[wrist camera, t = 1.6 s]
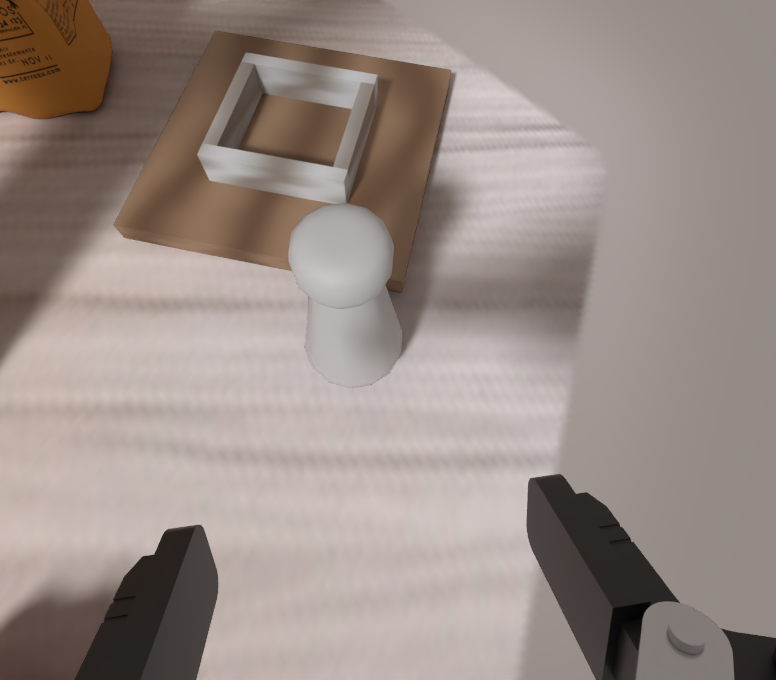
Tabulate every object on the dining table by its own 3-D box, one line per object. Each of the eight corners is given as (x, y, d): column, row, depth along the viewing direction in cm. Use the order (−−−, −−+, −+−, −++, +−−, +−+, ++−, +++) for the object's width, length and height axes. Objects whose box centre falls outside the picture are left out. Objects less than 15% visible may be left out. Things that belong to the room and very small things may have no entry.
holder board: (124, 237, 33) (92, 200, 29) (221, 47, 41) (205, -1, 37) (401, 292, 32) (404, 261, 28) (448, 86, 39) (456, 39, 36)
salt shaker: (367, 298, 32) (361, 155, 20) (418, 363, 30) (445, 251, 18) (293, 344, 30) (236, 221, 18) (342, 415, 29) (315, 332, 17)
